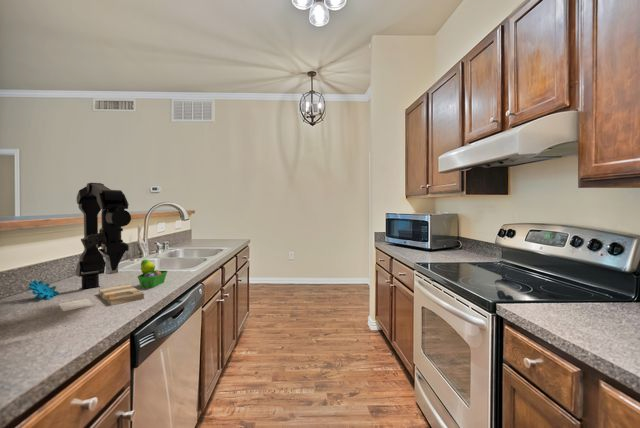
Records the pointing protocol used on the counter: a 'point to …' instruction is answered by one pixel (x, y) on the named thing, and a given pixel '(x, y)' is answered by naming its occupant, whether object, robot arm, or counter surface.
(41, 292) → the blue spiky lump
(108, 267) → the peg
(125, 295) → the rail plate
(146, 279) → the fruit basket
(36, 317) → the counter surface
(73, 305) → the tab
